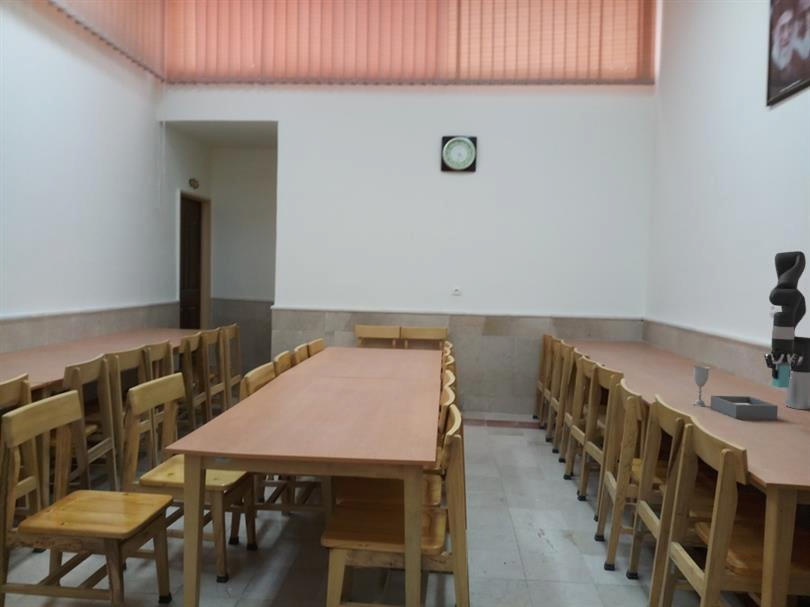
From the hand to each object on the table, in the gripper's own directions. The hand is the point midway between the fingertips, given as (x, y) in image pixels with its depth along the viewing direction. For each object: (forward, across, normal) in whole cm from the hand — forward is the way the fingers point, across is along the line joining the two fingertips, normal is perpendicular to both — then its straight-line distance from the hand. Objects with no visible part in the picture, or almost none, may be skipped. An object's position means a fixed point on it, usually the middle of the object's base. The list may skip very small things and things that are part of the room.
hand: (780, 378), depth 223 cm
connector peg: (+3, 0, 0) cm, 3 cm away
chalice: (+19, +15, -31) cm, 39 cm away
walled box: (+19, +5, -15) cm, 24 cm away
